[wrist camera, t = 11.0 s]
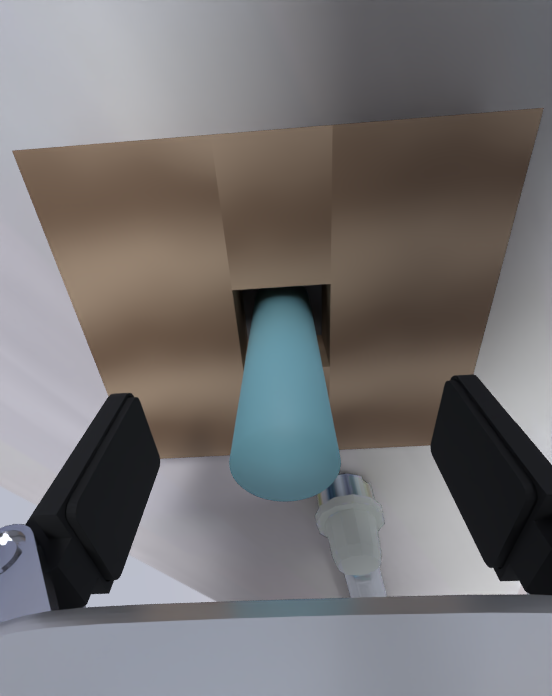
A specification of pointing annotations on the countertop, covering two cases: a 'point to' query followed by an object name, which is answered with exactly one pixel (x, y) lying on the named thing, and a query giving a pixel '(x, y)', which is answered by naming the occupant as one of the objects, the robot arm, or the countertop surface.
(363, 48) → the countertop surface
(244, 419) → the peg
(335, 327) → the socket block
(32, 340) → the countertop surface
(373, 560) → the white handheld massager
